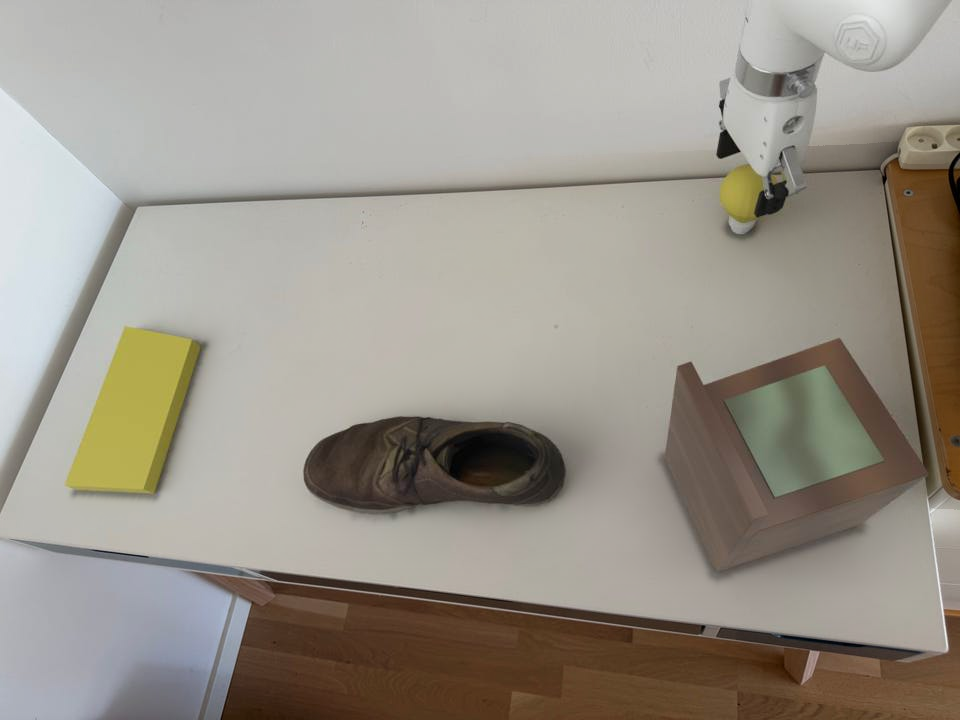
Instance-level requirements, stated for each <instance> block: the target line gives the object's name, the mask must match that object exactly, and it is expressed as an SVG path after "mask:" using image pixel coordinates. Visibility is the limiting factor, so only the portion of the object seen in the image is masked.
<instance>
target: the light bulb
mask: <svg viewBox="0 0 960 720" xmlns="http://www.w3.org/2000/svg"><path fill="white" fill-rule="evenodd" d="M771 176H772V182H773V185H774V184H776V183H779V182H778V179H777V177H776V175H775V173H774V174H772V175H771ZM763 190H764V188H763V183H762V177H761V176H760V175H759V174H757V173H756V172H755V171H754V170H753V168H752V167H751V165H750V164H749V163H746V164H742V165H739V166H737V167H735V168H734V169H732V170H730V171H729V172H728V174H726V176H725V177H724V179H723V180H722V182H721V184H720V188H719V191H718V194H719V195H718V196H719V202H720V204H721V206H722V207H723V209H724V210H725V212H726V213H727V215H728V216H729V217H728V225H729V227H730V228H731V231H732V232H733V233H734V234H737V235H744V234H747V233H748V232H749V231H750V230H752V229H753V228H754V227H755V225H756V221H757V220H758V219H759V218H760V217H758V218H757V217H756V216H755V214H754V211H755V207H756V203H757V200H758V196H759V193H760V192H761V191H763Z"/></svg>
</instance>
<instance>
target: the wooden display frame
mask: <svg viewBox="0 0 960 720" xmlns="http://www.w3.org/2000/svg"><path fill="white" fill-rule="evenodd" d="M696 369H697V368H696V367H695V365H694V363H693V361H688V362H684V363H682V364H679V365H677V366H676V372H675V380H674V387H673V395H672V402H671V409H670V416H669V422H668V423H669V424H668V430H667V431H668V432H667V437H666V446H665V452H664V460H665V463H666V465H667V467H668V469H669V472H670V474H671V476H672V478H673V480H674V483H675V485H676V487H677V489H678V491H679V494H680V496H681V498H682V501H683V503H684V506H685V507H686V509H687V512H688V515H689V516H690V519H691V520H692V523H693V525H694V527H695V529H696V532H697V534H698V536H699V538H700V540H701V543H702V546H703V547H704V549H705V552H706V554H707V556H708V557H709V560H710V563H711V565H712V567H713V569H714V572H715V573H719V572H722V571H725V570H729V569H731V568H734V567H737V566H740V565H743V564H746V563H750V562H753V561H756V560H759V559H761V558H764V557H765V558H766V557H767V556H770V555H773V554H777V553H779V552H783V551H785V550H789V549H792V548H794V547H797V546H798V547H799V546H801V545H803V544H806V543H807V544H808V543H810V542H813V541H815V540H819V539H822V538H825V537H828V536H831V535H834V534H837V533H840V532H843V531H847V530H849V529H852V528H856V527H858V526H860V525H861V524H863V523H865V522H866V521H867V520H869V519H870V518H871V517H872V516H874V515H876V514H877V513H879V512H880V511H881V510H882V509H884V508H885V507H886V506H888V505H889V504H891V503H892V502H893V501H895V500H896V499H898V498H899V497H900V496H902V495H903V494H905V493H906V492H908V491H909V490H911V488H913V487H915V485H917V484H918V483H920V482H922V481H923V480H924V479H925V478H927V477H928V476H929V475H930V472H929V471H928V470H927V468H926V467H925V465H924V464H923V462H922V460H921V459H920V457H919V456H918V454H917V453H916V451H915V449H914V448H913V447H912V445H911V444H910V442H909V440H908V439H907V438H906V436H905V435H904V433H903V432H902V430H901V429H900V427H899V425H898V424H897V422H896V421H895V420H894V418H893V417H892V415H891V413H890V412H889V410H888V408H887V407H886V406H885V404H884V403H883V401H882V400H881V398H880V397H879V395H878V394H877V392H876V390H875V389H874V387H873V386H872V384H871V383H870V382H869V380H868V378H867V377H866V375H865V374H864V373H863V371H862V369H861V368H860V366H859V365H858V363H857V361H856V360H855V358H854V357H853V356H852V354H851V352H850V351H849V349H848V348H847V347H846V345H845V344H844V342H843V340H842V339H841V338H840V337H837V338H835V339H832V340H829V341H826V342H824V343H821V344H818V345H814V346H812V347H809V348H806V349H803V350H800V351H798V352H795V353H792V354H790V355H786V356H784V357H781V358H777V359H775V360H772V361H769V362H766V363H763V364H759V365H758V366H754V367H752V368H748V369H746V370H743V371H740V372H738V373H735V374H732V375H731V374H730V375H729V376H725V377H723V378H720V379H717V380H714V381H711V382H708V383H706V384H705V383H703V381H702V378H701V377H700V375H699V373H698V371H697V370H696Z"/></svg>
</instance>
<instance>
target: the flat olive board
mask: <svg viewBox="0 0 960 720" xmlns="http://www.w3.org/2000/svg"><path fill="white" fill-rule="evenodd" d="M201 348H202V346H201V345H200V344H199V343H197V342H196V341H195V340H193V339H191V338H188V337H187V338H186V337H182V336H177V335H172V334H167V333H161V332H157V331H152V330H145V329H143V328H137V327H132V326H127V325H125V326H124V327H123V330H122V333H121V335H120V338H119V341H118V343H117V346H116V348H115V351H114V354H113V356H112V358H111V362H110V363H109V367H108V369H107V373H106V374H105V378H104V380H103V382H102V386H101V387H100V391H99V393H98V396H97V399H96V402H95V404H94V406H93V409H92V412H91V414H90V416H89V420H88V422H87V426H86V428H85V430H84V433H83V436H82V438H81V441H80V444H79V446H78V449H77V451H76V454H75V456H74V460H73V462H72V464H71V467H70V470H69V472H68V475H67V477H66V481H65V483H64V486H65V487H68V488H70V489H72V490H76V491H89V492H91V491H93V492H111V493H113V492H114V493H129V494H130V493H131V494H133V493H134V494H151V495H154V494H155V493H156V490H157V488H158V484H159V481H160V478H161V477H160V476H161V474H162V472H163V468H164V465H165V462H166V459H167V455H168V453H169V449H170V446H171V443H172V439H173V436H174V433H175V431H176V427H177V425H178V421H179V418H180V414H181V411H182V408H183V405H184V402H185V398H186V395H187V392H188V389H189V385H190V383H191V379H192V377H193V373H194V369H195V367H196V364H197V360H198V357H199V355H200V351H201Z"/></svg>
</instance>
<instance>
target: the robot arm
mask: <svg viewBox="0 0 960 720" xmlns="http://www.w3.org/2000/svg"><path fill="white" fill-rule="evenodd" d="M952 1H953V0H747V1H746V7H745V13H744V18H743V23H742V29H741V34H740V39H739V45H738V51H737V57H736V60H735V61H736V62H735V63H734V67H733V70H732V72H731V76H730V77H728V78H724V79H722V80H720V81H719V84H718V85H719V95H720V99H721V100H719V103H718V109H720V114H721V118H722V119H720V120H718V127H719V129H720V130H721V131H720V132H719V136H718V142H717V147H716V154H715V155H716V157H717V159H718V160H722V159H725V158H728V157H731V156H734V155H736V154H740V153H741V154H742V155H743V157H744V158H745V160H746V161H747V164H750V165H751V167H752V168H753V170H754V171H755V172H756V173H757V174H759V175H760V176H761V177H762V183H763V188H764V190H763V191H761V192H760V193H759V196H758V200H757V203H756V207H755V211H754V214H755V216H756V217H757V218H758V217H759V218H761V217H764V216H767V215H768V216H769V215H771V216H772V215H774V214H777V213H778V212H779V211H781V210H782V209H783V207H784V205H785V202H786V199H787V198H788V197H792V196H794V195H796V194H799V193H800V192H802V191H804V190H805V189H807V187H808V183H807V180H806V178H805V177H806V176H805V175H804V172H803V169H802V166H801V165H802V164H803V161H804V160H805V157H806V154H807V151H808V148H809V144H810V140H811V136H812V132H813V127H814V123H815V118H816V111H817V104H818V103H817V102H818V88H817V86H816V84H815V82H816V81H817V78H818V74H819V72H820V68H821V66H822V63H823V60H824V57H825V53H826V54H827V55H828V56H830V57H831V58H833V59H835V60H836V61H838V62H839V63H841V64H844V65H845V66H847V67H849V68H852V69H855V70H857V71H861V72H868V73H876V72H882V71H883V72H884V71H887V70H891V69H893V68H894V67H896V66H898V65H900V64H901V63H903V62H904V61H905V60H906V59H908V58H909V57H910V56H911V55H912V53H913V52H914V51H916V49H917V48H918V47H919V46H920V44H921V43H922V42H923V40H924V39H925V37H926V36H927V35H928V33H929V32H930V31H931V29H932V28H933V27H934V26H935V24H936V23H937V22H938V20H939V19H940V18H941V17H942V15H943V13H944V12H945V11H946V9H948V7H949V5H950V4H951V3H952ZM779 172H781V178H782V181H779V182H778V183H776V184H774V185H773V182H772V176H771V175H772V174H774V175H775V174H778V173H779ZM759 218H758V219H759Z"/></svg>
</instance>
